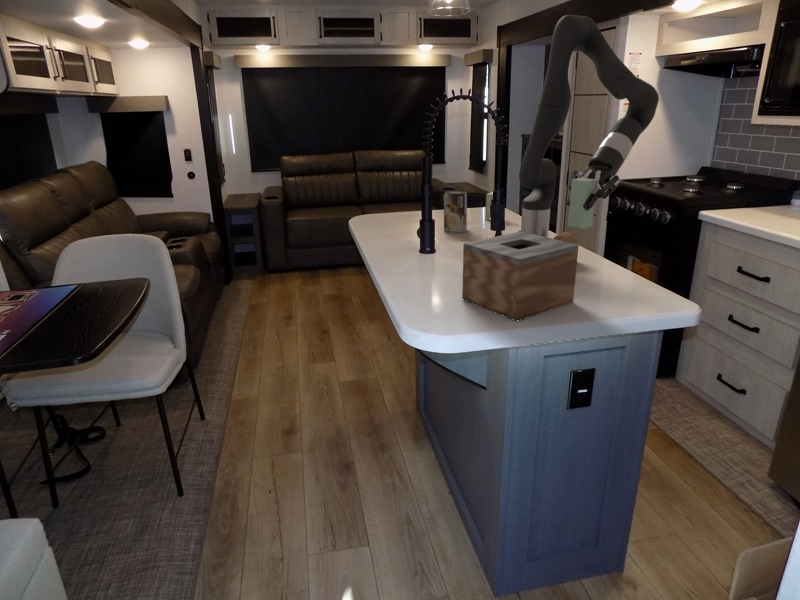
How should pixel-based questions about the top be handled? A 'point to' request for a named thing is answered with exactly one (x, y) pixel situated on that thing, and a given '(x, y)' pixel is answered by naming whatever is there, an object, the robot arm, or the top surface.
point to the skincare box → (488, 205)
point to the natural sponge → (566, 237)
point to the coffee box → (455, 211)
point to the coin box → (519, 274)
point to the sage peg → (580, 203)
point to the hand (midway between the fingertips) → (577, 206)
